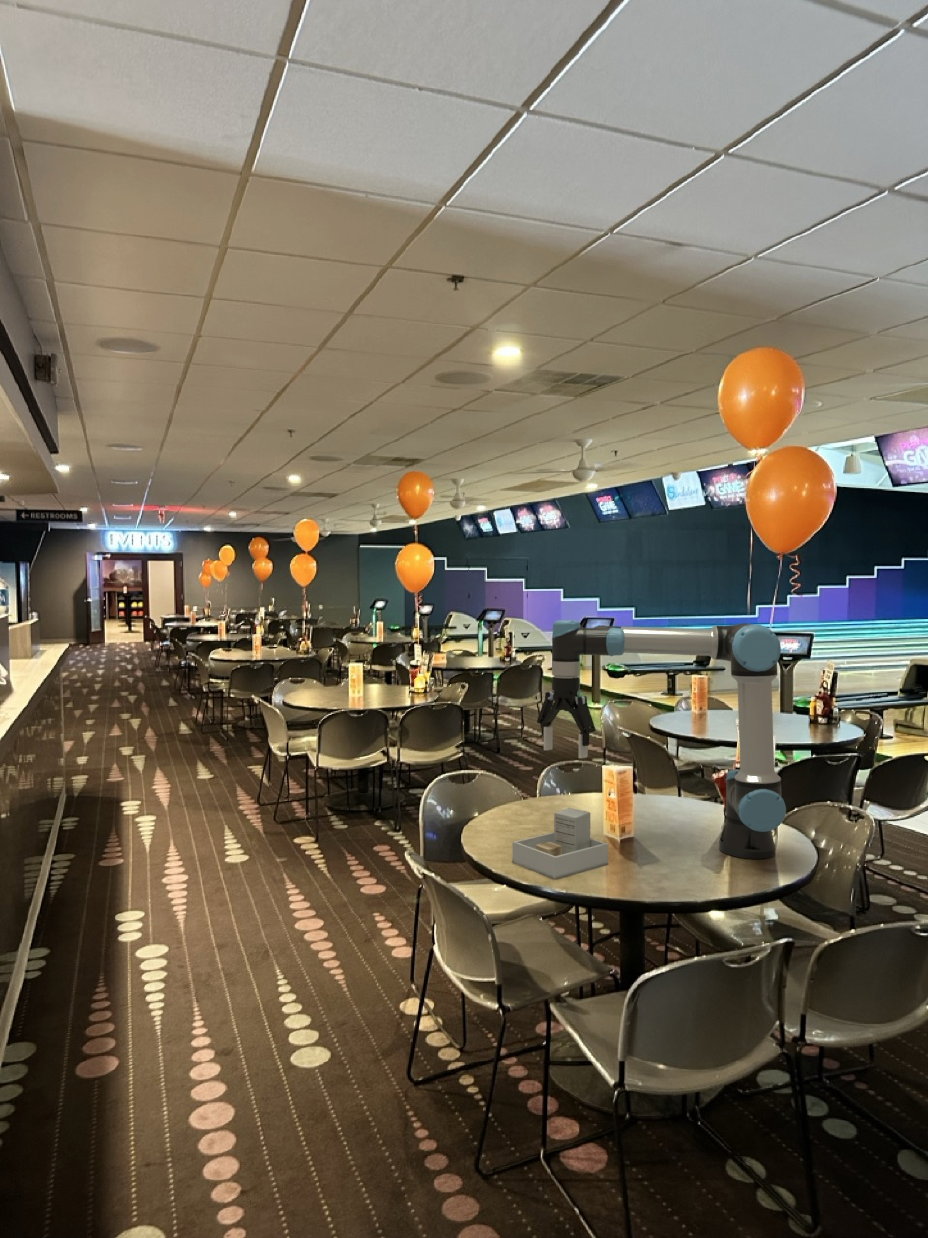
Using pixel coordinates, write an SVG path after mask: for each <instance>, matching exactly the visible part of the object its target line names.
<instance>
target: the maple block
mask: <svg viewBox="0 0 928 1238" xmlns="http://www.w3.org/2000/svg"><path fill="white" fill-rule="evenodd" d="M535 849H537V850H539V851H542V852H545V853H548V854H550V855H553V856H559V855H562V846H560V845H557V844H554V843H552V842H546V843H542V844H538V845H535Z"/></svg>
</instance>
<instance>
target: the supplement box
mask: <svg viewBox="0 0 928 1238" xmlns="http://www.w3.org/2000/svg"><path fill="white" fill-rule="evenodd" d="M553 815H554V818H553V819H554V821H553V823H554V824H553V825H554V828H553V829H554V831H553V832H554V844H557V845H560V846H562V855H563V854H566V853H570V852H574V851H578V850H581V849H585V848H589V847H590V838H591V812H590V811H586V810H581V809H577V808H572V807H567V808H564V809H562V810H559V811H555V812H554V814H553Z"/></svg>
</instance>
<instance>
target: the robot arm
mask: <svg viewBox="0 0 928 1238" xmlns="http://www.w3.org/2000/svg"><path fill="white" fill-rule="evenodd" d="M551 636H552V637H551V647H552V648H551V650H552V651H551V653H552V655H551V658H552V659H551V661H552V663H551V667H552V668H551V675H552V676H553V677H552V678H551V690H552V691H546V692H545V694H544V695H545V696H544V701H543V703H542V707H541V709H540V711H539V714H538V717H537V720H536V723H537V724H540V725H541V727H542V738H543V751H551V750H553V741H554V740H553V733H554V732H553V731H554V729H553V727H554V726H553V725H552V723H553V722H554V720H555V719H556V718H557V716H558V714H559V712H560V711H564V712H568V714H570V716H571V717H572V718H573V720H574V722H575V724H576V726H577V729H578V730H579V731H580V732H579V733H578V759H586V758H588V757H589V756H588V755H589V754H588V753H589V752H588V751H589V750H588V749H589V746H590V734H591V733H595V732H596V731H597V730H596V729H597V728H596V727H595V723H594V720H593V717H592V714H591V712H590V708H589V706H588V697H587V696H586V695H583V696H579V695H578V693H579V691H580V689H581V688H580V682H581V681H580V680H581V679H580V678H579V677H578V676H580V673H581V672H580V662H581V658H580V657H581V656H610V657H613V656H616V657H617V656H623V655H624V653H625V654H627V653H628V654H645V655H646V654H648V655H650V654H652V655H672V656H673V655H675V656H676V655H682V656H703V657H710V658H711V659H712V660H717V661H718V660H720V661H727V662H730V674H731V675H730V676H731V677H732V678H733V679H734V680H735V681H736V682H737V683H736V684H737V705H738V706H737V710H738V711H737V712H738V713H737V714H738V715H737V716H738V739H739V740H738V741H739V743H738V744H739V769H735V768H734V769H730V770H728V771H727V772H726V778H725V783H726V785H725V786H726V787H725V789H726V790H725V791H726V795H725V797H726V798H725V799H726V800H725V801H726V802H725V823H724V826H723V829H722V832H721V834H720V836H719V837H720V838H719V841H718V849H719V851H720V852H722V853H724V854H726V855H729V856H733V857H737V858H742V859H751V860H760V859H761V860H762V859H763V860H764V859H770V858H772V857H774V856H775V855H776V843H775V841H774V837H773V834H772V831H773V830H775V829H777V828H778V827H779V826H780V825H782V823H783V822H784V820H785V818H786V815H787V807H786V803H785V801H784V799H783V797H782V777H780V776H779V774H778V773H777V772H776V770H775V748H774V719H773V717H774V715H773V691H772V690H773V689H772V686H773V685H772V682H773V681H774V680H775V679H776V678H777V677H778V661H779V659H780V657H781V652H782V651H781V650H782V648H781V643H780V640H779V638H778V636H777V635H776V634H775V632H773V631H772V630H771V629H770V628H769V627H767V626H765V625H761V624H757V623H756V624H754V623H748V622H747V623H737V624H729V625H728V624H727V625H713V626H712V627H711V628H691V627H690V628H688V627H687V628H684V627H657V626H656V627H653V626H652V627H651V626H650V627H648V626H618V625H617V626H612V625H604V624H603V625H602V624H599V625H596V626H594V627H581V622H580V621H579V620H574V619H573V620H571V619H570V620H568V619H567V620H566V619H560V620H559V619H558V620H555V621H554V622H553V623H552V634H551Z"/></svg>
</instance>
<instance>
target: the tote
mask: <svg viewBox="0 0 928 1238" xmlns="http://www.w3.org/2000/svg"><path fill="white" fill-rule="evenodd" d="M546 842H552V843H554V831H553V832H548V833H545V834H540V835H539V834H538V835H536V836H532V837H527V838H523V839H519V840H516V841H514V840H513V841H512V846H511V848H512V853H511V855H512V861H511V863H512V864H515V865H518V866H521V867H523V868H524V869H528V870H530V871H532V872H535V873H538V874H539V875H542V876H545V877H548V878H549V879H550V878H551V879H553V880H559V879H562V878H565V877H570V876H572V875H577V874H579V873H583V872H586V871H589V870H593V869H596V868H600V867H604V866H608V865H609V843H608V842H604V841H603V840H602V841H601V840H598V839H594V838H591V837H590V847H589V848H585V849H581V850H578V851H574V852H570V853H566V854H563V855H559V856H553V855H550V854H548V853H545V852H542V851H539V850H537V849H535V845H538V844H542V843H546Z"/></svg>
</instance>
